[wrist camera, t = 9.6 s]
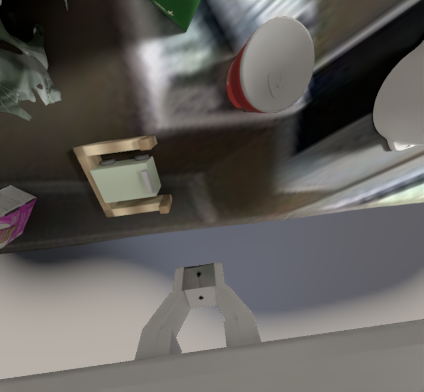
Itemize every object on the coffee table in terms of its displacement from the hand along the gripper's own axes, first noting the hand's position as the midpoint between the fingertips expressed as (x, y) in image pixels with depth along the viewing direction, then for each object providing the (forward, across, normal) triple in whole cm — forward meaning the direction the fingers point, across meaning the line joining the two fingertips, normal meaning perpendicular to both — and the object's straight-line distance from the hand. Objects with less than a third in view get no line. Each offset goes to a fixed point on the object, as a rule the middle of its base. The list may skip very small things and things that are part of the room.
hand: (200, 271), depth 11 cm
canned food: (+24, -10, -12) cm, 29 cm away
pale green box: (+24, +13, 0) cm, 27 cm away
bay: (+24, +13, 0) cm, 27 cm away
